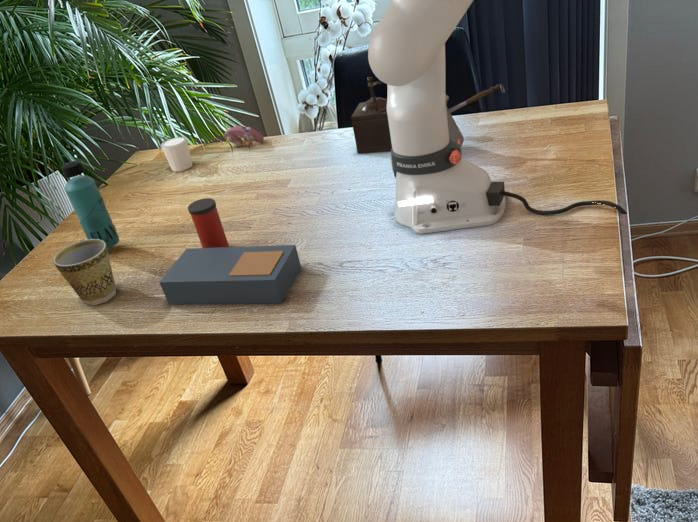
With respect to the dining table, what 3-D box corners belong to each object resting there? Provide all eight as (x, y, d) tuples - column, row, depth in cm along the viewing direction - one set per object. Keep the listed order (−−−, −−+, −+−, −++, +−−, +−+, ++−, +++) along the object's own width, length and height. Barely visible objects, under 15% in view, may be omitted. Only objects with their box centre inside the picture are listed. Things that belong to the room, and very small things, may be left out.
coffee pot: (411, 164, 162) (403, 100, 153) (421, 144, 171) (413, 82, 162) (504, 160, 156) (501, 92, 147) (509, 139, 164) (507, 74, 155)
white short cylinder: (188, 171, 183) (180, 145, 179) (165, 173, 185) (156, 148, 180) (198, 160, 188) (190, 135, 184) (175, 162, 190) (167, 137, 186)
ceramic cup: (125, 300, 135) (105, 255, 129) (74, 316, 133) (51, 271, 127) (124, 270, 145) (105, 227, 139) (76, 284, 143) (55, 241, 137)
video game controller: (230, 151, 194) (218, 134, 188) (236, 138, 195) (223, 120, 189) (261, 151, 190) (249, 133, 184) (266, 138, 191) (255, 120, 185)
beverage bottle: (96, 260, 151) (56, 173, 138) (91, 249, 155) (51, 164, 143) (125, 249, 152) (88, 163, 140) (120, 239, 157) (83, 154, 145)
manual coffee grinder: (400, 150, 170) (389, 75, 159) (356, 154, 173) (343, 80, 162) (409, 126, 182) (400, 54, 171) (368, 130, 185) (357, 59, 174)
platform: (301, 267, 133) (295, 243, 130) (281, 303, 125) (274, 278, 121) (194, 270, 140) (185, 247, 137) (168, 304, 131) (158, 281, 128)
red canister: (234, 245, 145) (219, 197, 139) (224, 259, 141) (208, 210, 134) (211, 246, 147) (194, 198, 140) (200, 260, 143) (183, 211, 136)
